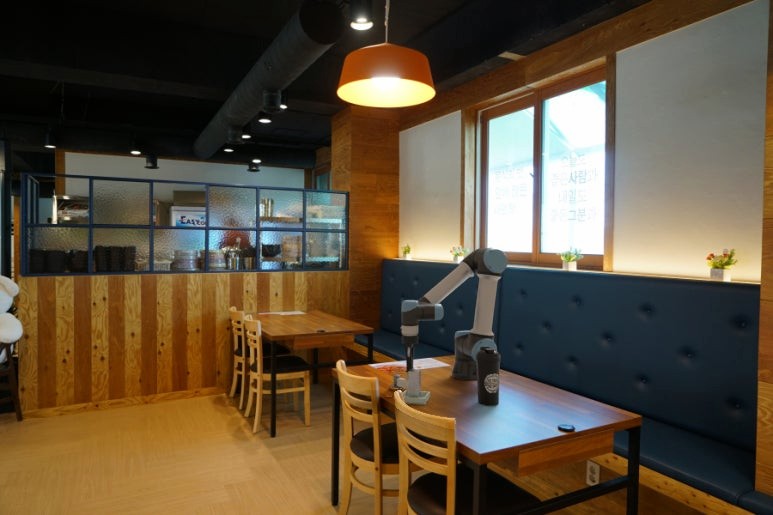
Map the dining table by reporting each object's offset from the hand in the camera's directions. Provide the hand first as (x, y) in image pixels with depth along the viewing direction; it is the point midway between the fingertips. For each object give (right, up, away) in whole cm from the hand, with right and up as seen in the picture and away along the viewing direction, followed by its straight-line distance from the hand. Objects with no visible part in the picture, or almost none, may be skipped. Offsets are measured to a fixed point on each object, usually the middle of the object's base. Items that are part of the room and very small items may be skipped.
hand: (410, 385), depth 235 cm
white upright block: (+1, -1, -17) cm, 17 cm away
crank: (-2, 0, -1) cm, 3 cm away
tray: (+1, -2, -17) cm, 17 cm away
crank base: (-6, -2, +2) cm, 7 cm away
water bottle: (+31, -2, -21) cm, 38 cm away
